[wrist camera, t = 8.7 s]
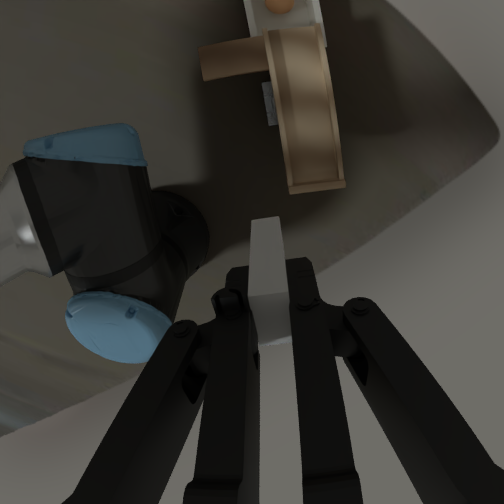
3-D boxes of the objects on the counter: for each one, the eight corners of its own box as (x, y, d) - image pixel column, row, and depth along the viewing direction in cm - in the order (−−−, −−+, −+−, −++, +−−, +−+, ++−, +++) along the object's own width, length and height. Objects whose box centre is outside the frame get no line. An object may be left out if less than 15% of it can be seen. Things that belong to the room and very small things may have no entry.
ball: (266, 16, 33) (268, 14, 30) (262, -8, 31) (262, -12, 28) (294, 13, 33) (298, 11, 30) (290, -11, 31) (293, -15, 28)
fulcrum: (327, 118, 41) (340, 127, 34) (268, 125, 41) (270, 135, 35) (321, 75, 38) (334, 76, 31) (261, 82, 38) (262, 83, 32)
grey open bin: (254, 57, 37) (253, 52, 30) (239, -19, 31) (235, -38, 24) (319, 49, 36) (332, 44, 29) (304, -26, 30) (314, -45, 23)
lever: (336, 179, 37) (346, 187, 33) (228, 194, 38) (223, 204, 34) (314, 32, 30) (320, 21, 26) (202, 49, 32) (193, 39, 27)
